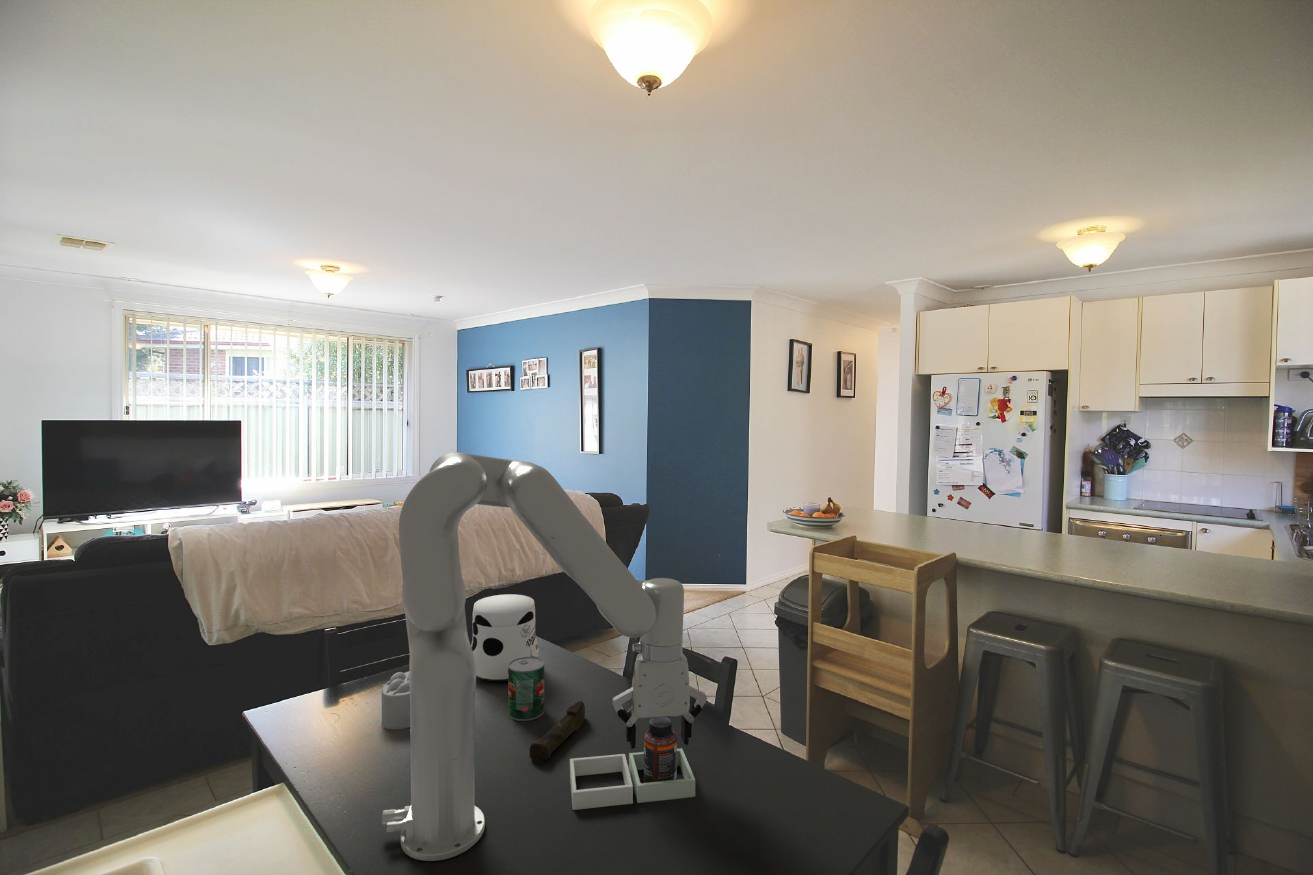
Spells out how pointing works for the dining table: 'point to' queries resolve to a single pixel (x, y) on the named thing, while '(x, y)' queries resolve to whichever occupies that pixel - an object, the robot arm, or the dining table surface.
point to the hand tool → (558, 733)
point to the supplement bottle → (660, 751)
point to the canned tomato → (526, 688)
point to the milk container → (502, 634)
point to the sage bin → (662, 788)
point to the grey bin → (604, 794)
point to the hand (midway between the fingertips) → (658, 742)
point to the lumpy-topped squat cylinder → (396, 702)
